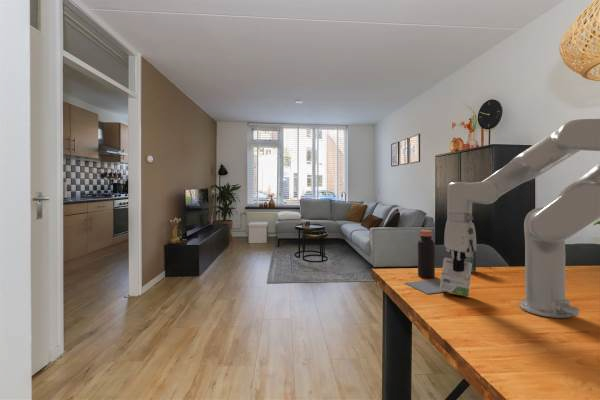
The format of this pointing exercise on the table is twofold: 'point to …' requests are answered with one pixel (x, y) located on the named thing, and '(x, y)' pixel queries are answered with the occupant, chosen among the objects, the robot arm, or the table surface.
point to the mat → (427, 286)
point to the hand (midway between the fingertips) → (458, 270)
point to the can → (472, 261)
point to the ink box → (455, 278)
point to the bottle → (426, 255)
